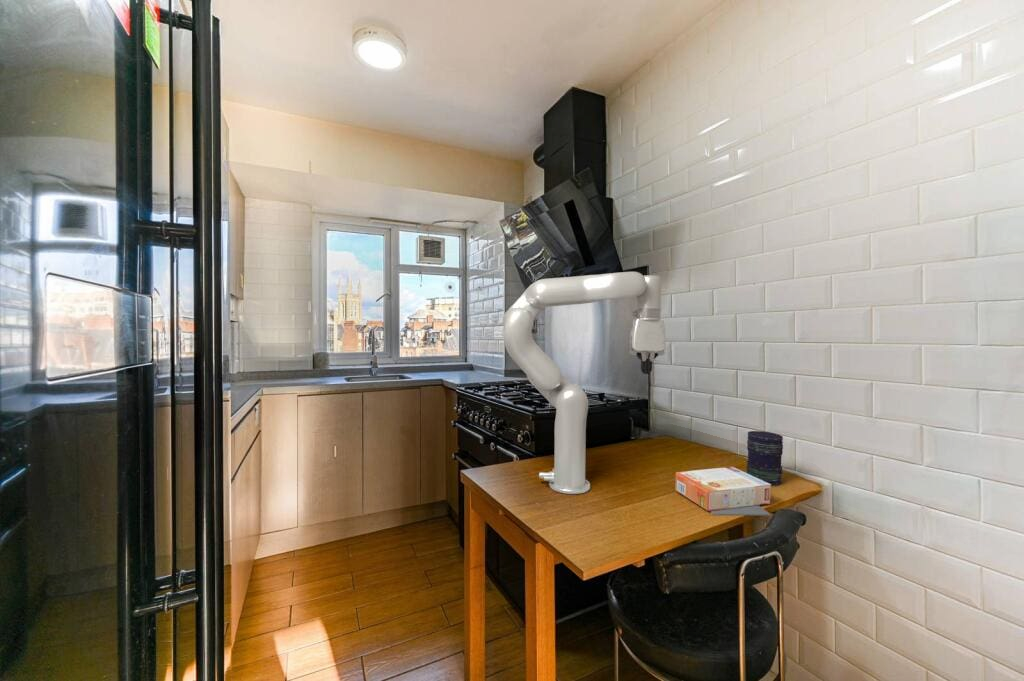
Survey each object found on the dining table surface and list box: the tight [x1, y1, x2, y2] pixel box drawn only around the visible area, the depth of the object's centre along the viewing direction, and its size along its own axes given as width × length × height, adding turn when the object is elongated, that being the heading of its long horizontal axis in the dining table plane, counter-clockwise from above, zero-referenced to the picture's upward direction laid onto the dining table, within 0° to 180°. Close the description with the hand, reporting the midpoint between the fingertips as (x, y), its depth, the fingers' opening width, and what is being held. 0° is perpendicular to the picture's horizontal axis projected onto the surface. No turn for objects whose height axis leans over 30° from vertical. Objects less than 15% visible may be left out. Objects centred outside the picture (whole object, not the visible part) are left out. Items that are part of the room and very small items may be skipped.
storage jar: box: [746, 430, 784, 487], centre depth 130 cm, size 10×10×15 cm
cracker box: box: [674, 466, 772, 512], centre depth 116 cm, size 14×6×21 cm
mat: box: [709, 505, 771, 517], centre depth 113 cm, size 15×14×1 cm
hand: (646, 373), depth 127 cm, fingers closed
